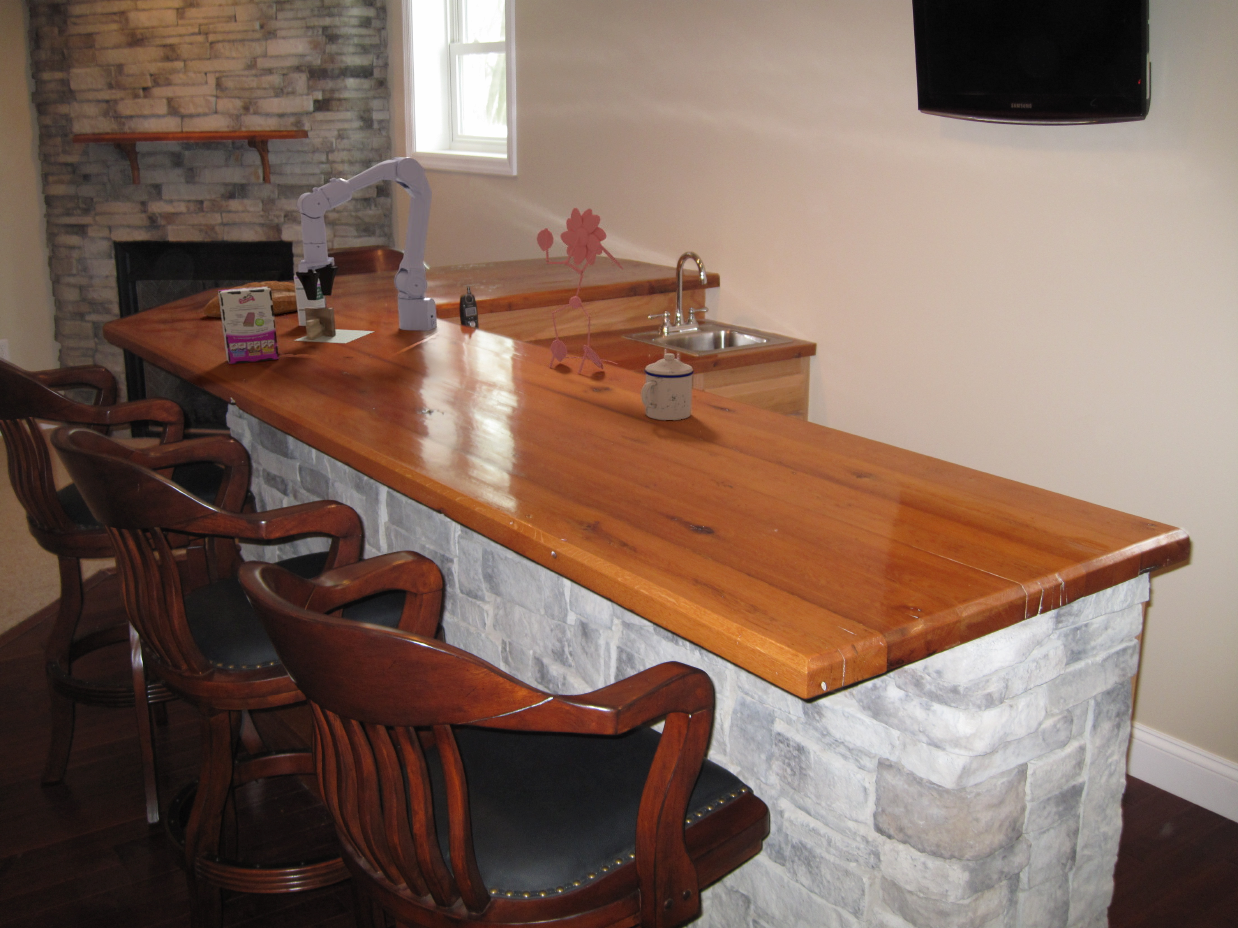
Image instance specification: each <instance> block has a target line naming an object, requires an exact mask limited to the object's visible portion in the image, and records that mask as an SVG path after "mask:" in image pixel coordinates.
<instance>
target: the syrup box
mask: <svg viewBox="0 0 1238 928" xmlns="http://www.w3.org/2000/svg"><path fill="white" fill-rule="evenodd" d="M314 273H316V271H314ZM293 280H294V284H295V291H296V301H297V310H298V311H297V317H298V318H297V319H298V326H300V327H301V326H302V327H306V316H305V308H306V307H322V308H328V306H327V298H326V297H327V296H324V295H322V292H321V286H320V281H319V278H318V283H317V299H316V300H308V299H307V297H306V294H305V291H304V288H303V286H302V284H301V282H300V280H299V279H298V277H297V276H296V274H294V275H293Z"/></svg>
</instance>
